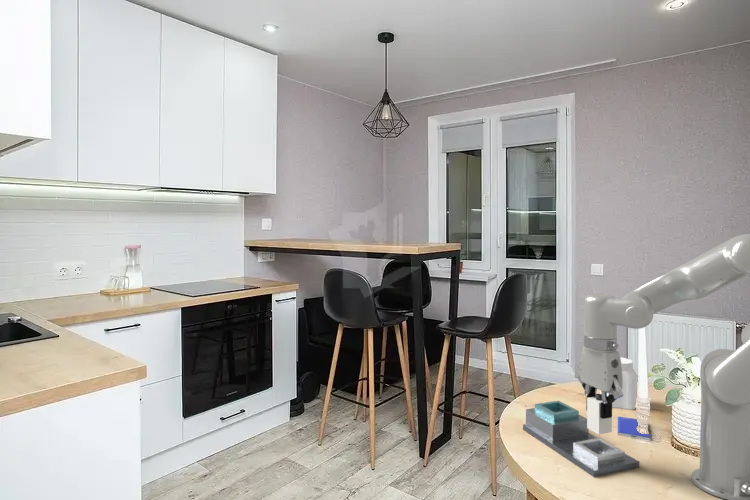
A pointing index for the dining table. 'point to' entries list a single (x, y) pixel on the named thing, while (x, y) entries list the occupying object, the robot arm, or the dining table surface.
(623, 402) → the jar
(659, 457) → the dining table surface
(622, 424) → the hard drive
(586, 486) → the dining table surface
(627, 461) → the grey desk organizer
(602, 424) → the plug
